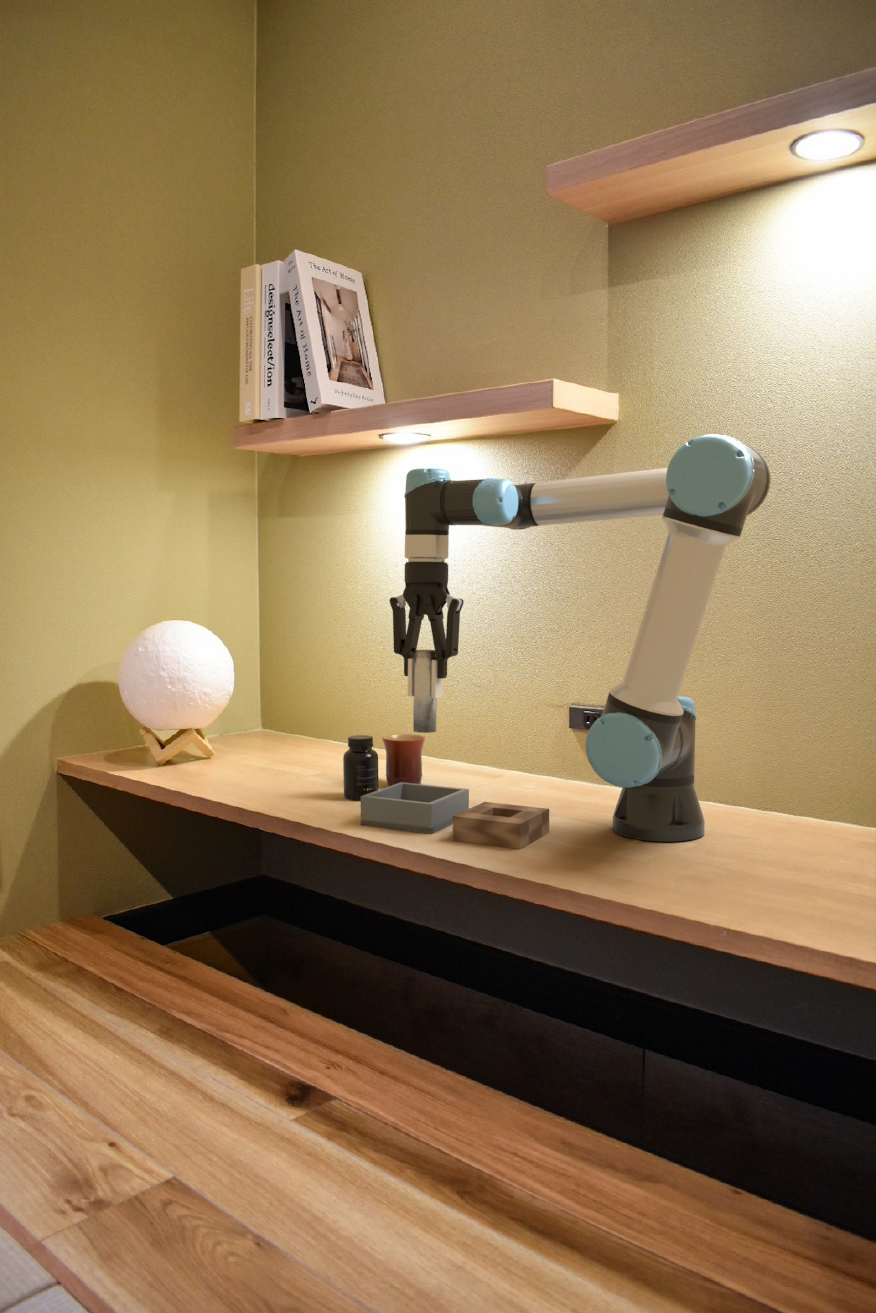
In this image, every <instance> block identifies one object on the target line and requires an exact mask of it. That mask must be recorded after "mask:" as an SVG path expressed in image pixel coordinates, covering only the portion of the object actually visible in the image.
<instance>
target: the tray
mask: <svg viewBox="0 0 876 1313" xmlns="http://www.w3.org/2000/svg"><path fill="white" fill-rule="evenodd" d="M469 808H470V789H469V788H463V787H462V788H460V787H453V786H452V787H450V786H443V785H441V786H440V785H432V784H431V785H430V784H422V783H421V784H414V783H404V782H400V783H397V784H395V785H392V786H386V787H384V788H380V789H378V790H377V791H375V792H372V793H369V794H366V795H363V796H361V801H360V826H366V827H375V828H383V829H391V830H398V831H405V832H413V833H414V832H415V833H423V834H428V835H431V834H435V833H437V832H440V831H441V830H444V829H446V828H448V827H450V826H453V816H454V815H456V814H458V813H461V812H463V811H465V810H467V809H469Z"/></svg>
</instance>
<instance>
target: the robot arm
mask: <svg viewBox="0 0 876 1313" xmlns="http://www.w3.org/2000/svg"><path fill="white" fill-rule="evenodd" d="M770 486H771V474H770V468H769V466H768V464H767V461H766V460H765V458H764V457H763V456H762V454H760V452H758V451H757V450H756V449H754V448H753V447H750V446H748V445H746V444H744V443H743V442H742V441H740V440H739V439H738V438H736V437H735V438H734V437H731V436H729V435H722V434H713V433H712V434H711V433H710V434H704V435H703V434H702V435H699V436H696V437H694V438H692V439H690V440H688V441H686V442H685V443H683V445H681V446H680V447H679V448H678V449H677V450H676V451H675V452H674V454H673V455H672V456H671V458H670V461H669V463H668V466H667V467H662V468H656V469H655V468H654V469H645V470H644V469H643V470H636V471H627V472H620V473H611V474H600V475H591V476H585V477H576V478H575V477H574V478H566V479H557V480H548V481H539V482H529V483H521V484H514V483H513V482H512V481H511V480H509V479H506V478H493V477H487V478H483V479H482V478H481V479H480V478H479V479H465V480H463V479H462V480H454V479H453V480H451V477H450V473H449V471H448V470H447V469H444V468H442V469H441V468H432V467H431V468H413V469H411V470H408V472H407V473H406V478H405V491H404V502H405V503H404V507H405V508H404V509H405V513H404V514H405V518H404V519H405V524H404V525H405V530H404V531H405V534H404V558H405V559H407V560H408V561H406V562H405V563H404V583H405V584H404V586H405V587H404V589H403V592H402V594H401V595H398V596H395V597H390V598H389V604H390V607H391V610H392V631H393V635H392V638H393V653H395V655H396V654H397V655H399V656H401V657H402V659H403V675H404V677H407V697H414V650H418V649H417V648H418V642H419V638H420V633H421V632H420V631H421V629H422V628H421V627H422V622H423V620H424V619H425V615H426V616H427V619H428V621H429V622H430V630H431V635H432V642H433V646H434V647H433V648H434V650H435V654H436V657H434V659H435V660H432V687H431V698H437V699H438V698H443V687H444V686H443V685H444V684H443V683H444V682H443V681H444V679H446V678H447V676H448V660H449V659H451V658H453V657H455V656H458V654H459V643H460V642H459V638H460V621H461V620H460V618H461V617H460V616H461V611H462V608H463V606H464V600H463V598H457V597H456V596H455V597H454V596H453V595H451V593H450V591H449V587H448V583H449V564H448V562H446V560H447V559H449V545H450V544H449V541H450V540H449V538H450V537H449V536H450V535H449V534H450V531H449V530H450V526H483V527H494V528H495V527H496V528H506V529H510V530H513V531H514V530H526V529H530V528H533V527H540V526H549V525H552V526H553V525H560V524H562V525H563V524H573V523H574V524H575V523H584V522H586V523H587V522H588V523H589V522H597V521H611V520H622V519H631V518H642V517H644V518H645V517H654V516H655V517H656V516H662V520H663V522H664V524H665V526H666V528H667V530H668V533H667V536H666V539H665V541H664V542H665V543H664V545H663V549H662V553H661V556H660V559H659V563H658V565H657V567H656V571H655V575H654V579H653V581H652V582H653V583H652V584H651V588H650V591H649V594H648V597H647V601H646V605H645V608H644V612H643V614H642V619H641V621H640V624H639V628H638V631H637V634H636V637H635V640H634V644H633V648H632V651H631V654H630V657H629V660H628V664H627V667H626V669H625V670H626V671H625V673H624V675H623V676H624V677H623V680H622V681H621V682H620V683H618V684H617V685H614V686H612V687H611V688H610V690H609V692H608V694H607V695H608V696H607V699H606V702H605V705H604V708H603V711H602V715H601V716H600V717H598V718H597V719H596V720H595V721H594V723H593V724H592V725H591V727H590V728H589V730H588V732H587V734H586V737H585V744H584V745H585V753H586V754H585V755H586V757H587V758H586V759H587V761H588V763H589V764H590V766H591V768H592V770H593V772H595V774H596V775H597V776H598V777H599V778H600V779H602V780H603V781H604V782H606V783H608V784H609V785H612V786H615V787H619V788H621V790H620V794H619V796H618V800H617V801H616V802H617V803H616V805H615V808H614V811H613V814H612V831H613V832H614V833H616V834H617V835H620V836H623V837H625V838H626V837H627V838H629V839H635V840H641V841H650V842H682V841H690V840H697V839H699V838H701V837H703V836H704V835H705V827H706V826H705V823H706V821H705V818H704V814H703V811H702V808H701V804H700V802H699V798H698V795H697V792H696V789H695V772H696V771H695V770H696V769H695V764H696V762H695V759H696V756H695V755H696V721H697V714H696V704H695V702H694V700H693V699H692V698H690V697H689V696H688V697H687V696H679V694H680V692H681V687H682V684H683V681H684V679H685V676H686V672H687V669H688V667H689V663H690V661H691V660H690V659H691V656H692V653H693V650H694V647H695V643H696V641H697V638H698V635H699V632H700V628H701V625H702V622H703V619H704V616H705V613H706V610H707V606H708V603H709V601H710V600H709V599H710V597H711V594H712V591H713V588H714V584H715V582H716V577H717V575H718V572H719V569H720V566H721V563H722V560H723V557H724V554H725V551H726V548H727V547H728V546H729V545H730V544H732V543H734V542H736V541H738V540H739V539H740V538H741V535H742V532H743V529H744V525H745V523H746V520H747V516H749V515H751V514H753V513H754V512H755V511H756V510H758V509H759V508H760V506H762V504H763V503H764V501H765V500H766V498H767V495H768V493H769V491H770ZM445 605H446V607H447V615H446V628H445V625H444V612H443V608H444V607H445ZM406 606H408V607H409V611H408V616H407V615H406V612H407V610H406ZM406 616H407V617H408V622H407V621H406V620H407V617H406ZM407 623H408V624H407ZM445 630H446V633H445Z"/></svg>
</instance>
